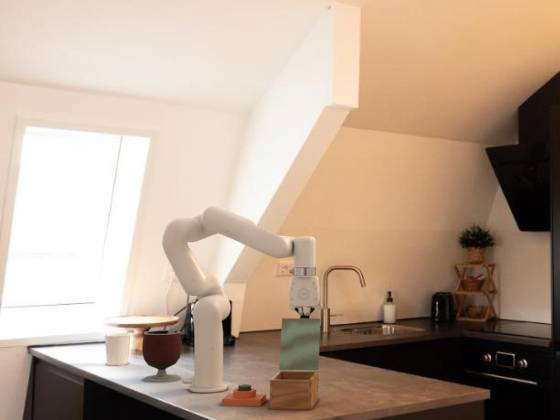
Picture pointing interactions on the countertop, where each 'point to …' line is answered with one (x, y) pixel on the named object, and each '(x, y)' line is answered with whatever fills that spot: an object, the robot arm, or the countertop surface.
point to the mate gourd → (162, 352)
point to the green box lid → (299, 344)
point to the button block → (244, 398)
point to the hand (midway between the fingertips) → (304, 327)
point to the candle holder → (117, 348)
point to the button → (244, 387)
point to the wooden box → (294, 390)
